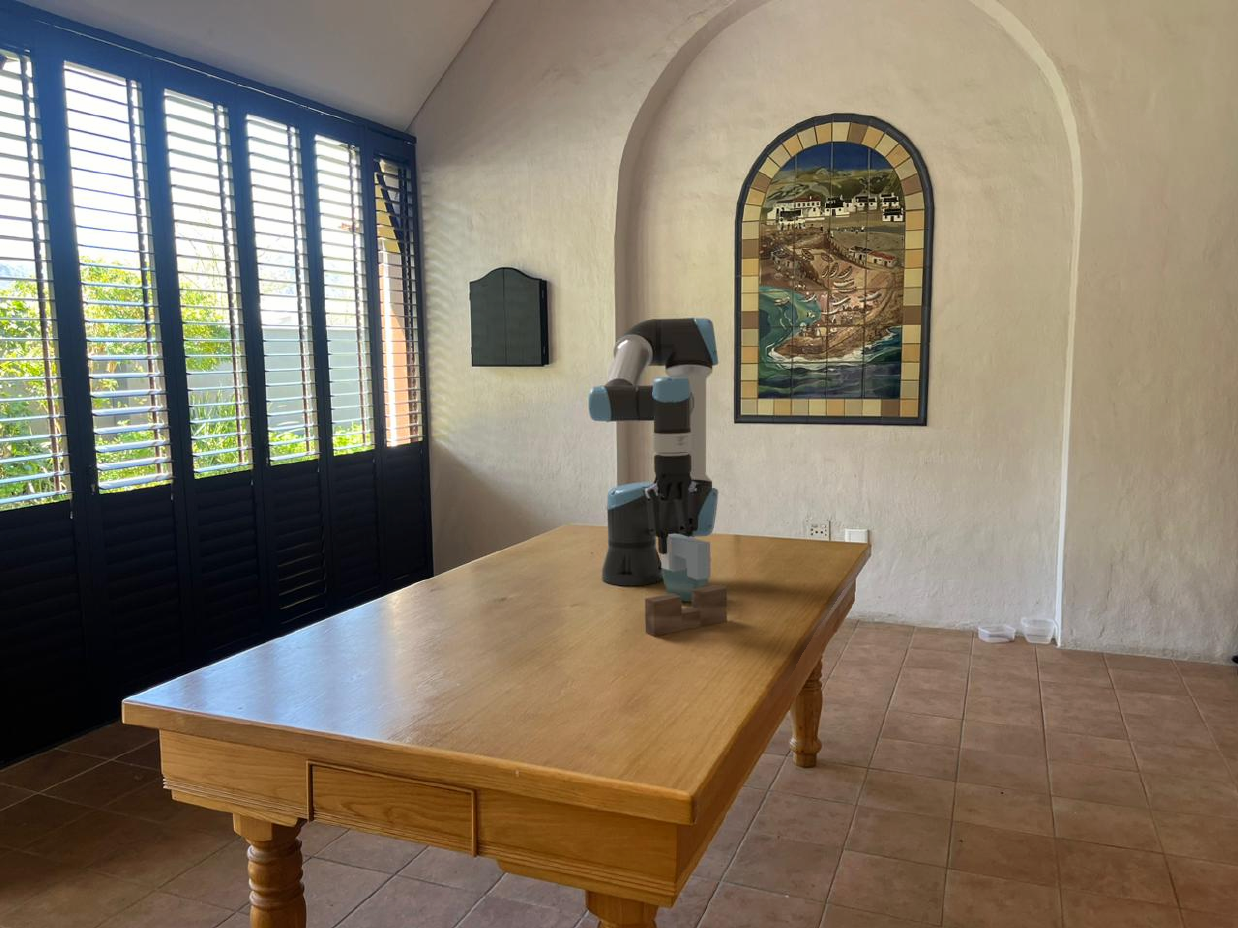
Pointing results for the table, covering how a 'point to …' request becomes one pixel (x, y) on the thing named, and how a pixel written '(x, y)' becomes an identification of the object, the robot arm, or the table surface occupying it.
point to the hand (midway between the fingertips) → (674, 567)
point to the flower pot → (682, 583)
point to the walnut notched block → (685, 611)
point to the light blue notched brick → (690, 556)
